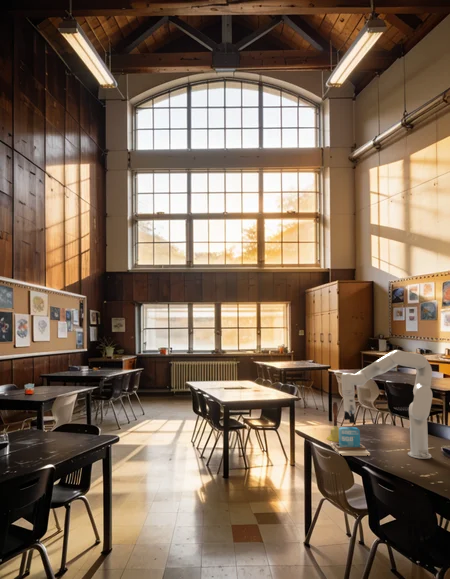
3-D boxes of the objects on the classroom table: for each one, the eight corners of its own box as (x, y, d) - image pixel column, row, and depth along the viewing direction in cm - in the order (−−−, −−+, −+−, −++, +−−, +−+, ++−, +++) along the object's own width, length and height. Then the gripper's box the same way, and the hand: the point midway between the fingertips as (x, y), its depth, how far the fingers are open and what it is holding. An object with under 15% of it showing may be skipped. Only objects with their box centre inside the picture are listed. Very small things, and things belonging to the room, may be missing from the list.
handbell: (346, 442, 289) (345, 403, 291) (327, 441, 290) (326, 403, 292) (343, 437, 301) (342, 400, 303) (325, 437, 302) (324, 400, 305)
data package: (340, 448, 267) (340, 428, 268) (338, 446, 271) (338, 427, 272) (360, 449, 266) (359, 428, 268) (358, 447, 271) (357, 427, 272)
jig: (370, 455, 258) (370, 450, 258) (339, 455, 258) (339, 450, 258) (358, 445, 280) (357, 440, 280) (330, 445, 279) (330, 440, 280)
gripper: (358, 394, 263) (360, 423, 262) (350, 391, 281) (351, 418, 279) (346, 395, 263) (347, 424, 261) (338, 391, 280) (339, 418, 279)
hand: (349, 421), depth 270 cm, fingers open, 9 cm apart
